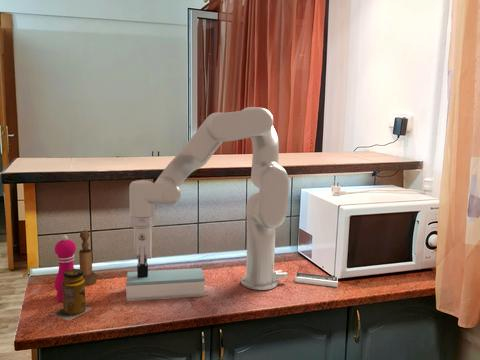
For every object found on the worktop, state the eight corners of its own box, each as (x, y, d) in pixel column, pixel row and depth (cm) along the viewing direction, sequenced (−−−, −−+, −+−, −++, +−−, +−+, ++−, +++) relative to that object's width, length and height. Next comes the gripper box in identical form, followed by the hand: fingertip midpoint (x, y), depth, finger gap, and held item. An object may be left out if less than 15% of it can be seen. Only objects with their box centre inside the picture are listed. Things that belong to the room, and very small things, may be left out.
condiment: (92, 308, 124) (91, 270, 122) (69, 321, 116) (67, 280, 114) (74, 303, 127) (72, 265, 125) (50, 315, 120) (48, 275, 118)
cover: (201, 270, 142) (201, 268, 142) (204, 280, 133) (204, 278, 133) (127, 274, 137) (127, 271, 137) (126, 285, 128) (126, 282, 128)
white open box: (201, 284, 143) (201, 270, 142) (204, 296, 134) (204, 281, 133) (128, 288, 138) (127, 274, 137) (126, 301, 129) (126, 285, 128)
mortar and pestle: (96, 285, 140) (94, 233, 137) (75, 287, 138) (73, 234, 135) (96, 277, 146) (95, 227, 143) (77, 279, 144) (74, 228, 141)
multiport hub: (296, 278, 151) (296, 272, 151) (337, 283, 148) (337, 276, 148) (294, 283, 147) (295, 276, 147) (337, 288, 144) (337, 281, 144)
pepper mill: (71, 303, 127) (68, 239, 123) (49, 301, 128) (46, 237, 125) (84, 293, 134) (82, 232, 130) (64, 291, 135) (61, 231, 132)
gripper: (154, 226, 124) (154, 285, 127) (154, 214, 138) (154, 267, 141) (128, 227, 122) (129, 287, 125) (130, 214, 137) (131, 268, 140)
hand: (142, 276), depth 133 cm, fingers closed
